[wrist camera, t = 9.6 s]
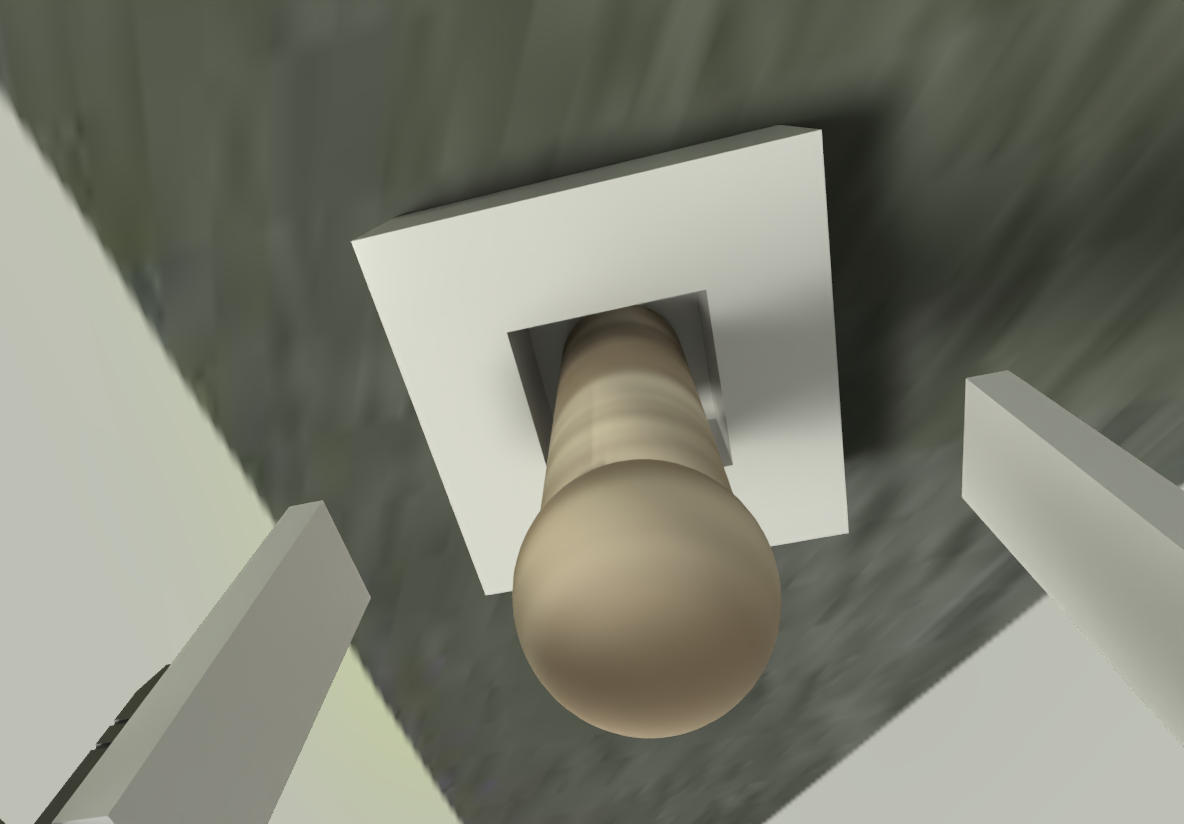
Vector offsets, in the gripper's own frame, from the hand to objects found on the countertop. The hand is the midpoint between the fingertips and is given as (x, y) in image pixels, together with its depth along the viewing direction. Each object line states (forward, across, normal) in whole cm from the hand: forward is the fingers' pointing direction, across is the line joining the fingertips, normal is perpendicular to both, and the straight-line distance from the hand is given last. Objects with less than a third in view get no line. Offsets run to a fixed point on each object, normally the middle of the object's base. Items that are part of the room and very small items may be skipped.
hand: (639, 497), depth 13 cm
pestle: (+9, 0, 0) cm, 9 cm away
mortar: (+10, 0, 0) cm, 10 cm away
